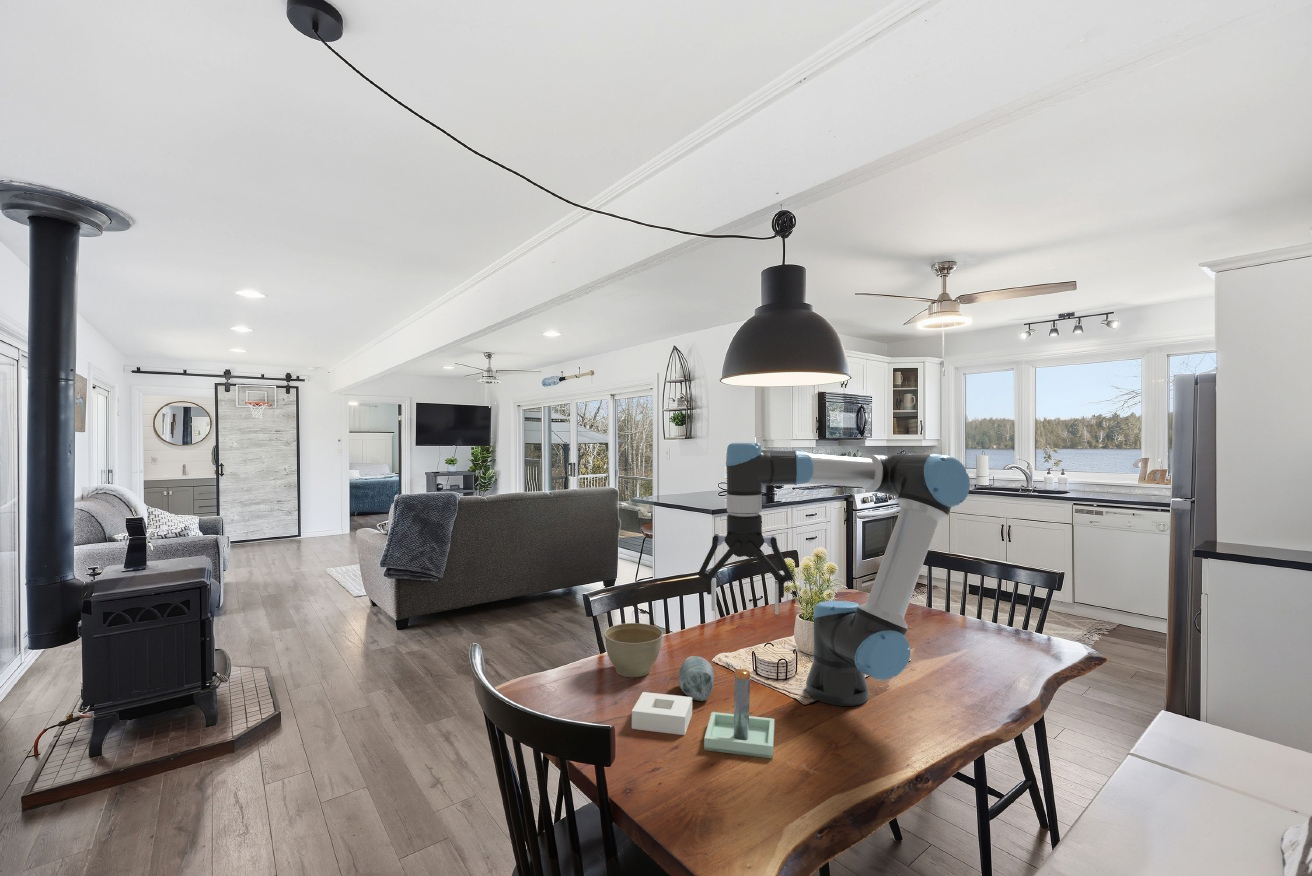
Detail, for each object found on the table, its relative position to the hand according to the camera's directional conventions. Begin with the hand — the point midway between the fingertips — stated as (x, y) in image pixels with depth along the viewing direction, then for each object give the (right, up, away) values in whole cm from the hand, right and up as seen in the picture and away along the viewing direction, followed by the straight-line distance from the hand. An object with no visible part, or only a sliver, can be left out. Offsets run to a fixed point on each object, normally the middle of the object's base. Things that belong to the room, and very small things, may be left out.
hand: (745, 611), depth 129 cm
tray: (-1, -27, -2) cm, 27 cm away
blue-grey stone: (-9, -27, +22) cm, 36 cm away
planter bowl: (-26, -27, +35) cm, 51 cm away
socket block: (-18, -27, +6) cm, 33 cm away
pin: (-1, -27, -2) cm, 27 cm away
